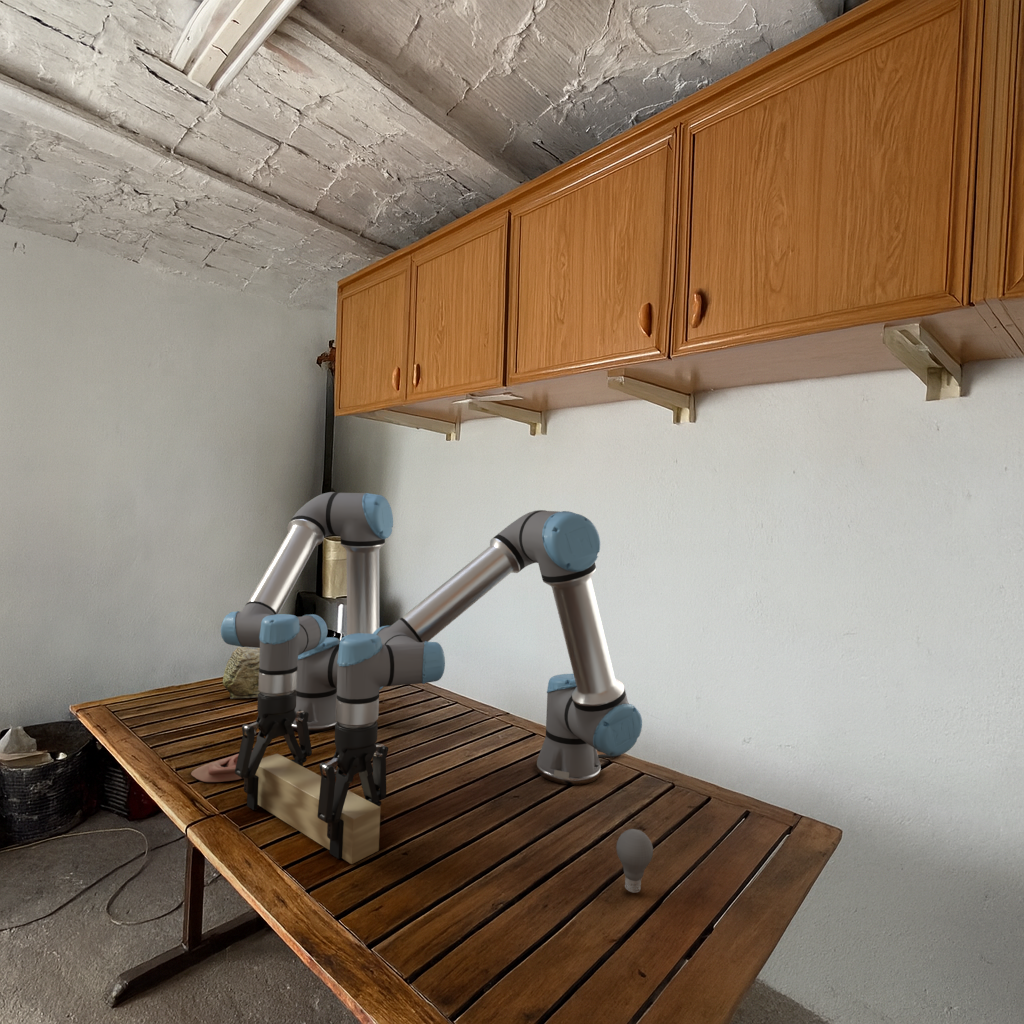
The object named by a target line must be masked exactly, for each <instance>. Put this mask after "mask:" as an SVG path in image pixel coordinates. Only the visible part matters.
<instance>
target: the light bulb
mask: <svg viewBox="0 0 1024 1024" xmlns="http://www.w3.org/2000/svg"><path fill="white" fill-rule="evenodd" d="M615 849H616V854H617V857H618V859H619V861H620V863H621V865H622V867H623V873H624V874H623V875H624V876H625V878H624V888H625V890H627V891H628V892H630V893H634V894H635V893H639V892H640V891H641V889H642V887H641V886H642V879H643V877H644V875H645V871H646V868H647V867H648V866H649V864H650V863H651V861H652V859H653V855H654V847H653V843H652V841H651V838H649V836H648V835H647V834H646V833H645V832H643V831H642V830H641V829H636V828H629V829H627V830H625V831H623V832H622V833H621V834H620V835H619V837H618V839H617V841H616V847H615Z"/></svg>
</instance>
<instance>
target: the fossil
mask: <svg viewBox="0 0 1024 1024" xmlns="http://www.w3.org/2000/svg"><path fill="white" fill-rule="evenodd" d="M259 661H260V648H251V647H240V646H237V648H236V649H235V650H233V651H232V653H231V656H230V657H229V659H228V660H227V663H226V666H225V668H224V671H223V675H222V676H223V677H222V685H223V687H224V688H225V690H226V691H228V693H229V698H230V699H250V698H258V694H259V693H260V691H259V690H258V684H259Z"/></svg>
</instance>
